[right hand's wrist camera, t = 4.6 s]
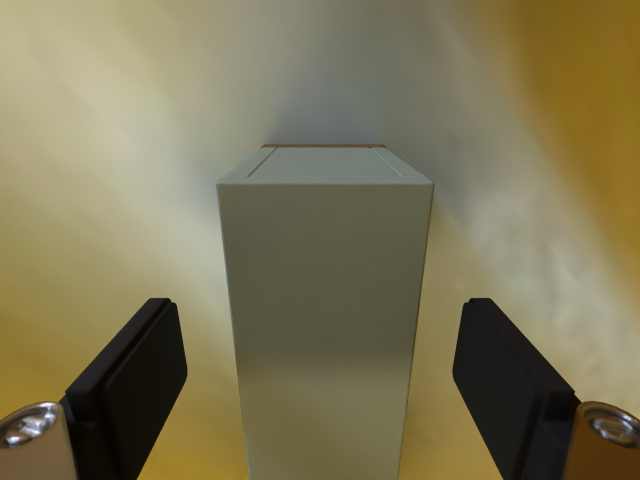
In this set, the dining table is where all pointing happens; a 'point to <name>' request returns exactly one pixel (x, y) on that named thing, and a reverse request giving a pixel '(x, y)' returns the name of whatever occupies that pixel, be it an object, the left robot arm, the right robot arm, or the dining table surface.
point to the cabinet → (324, 305)
